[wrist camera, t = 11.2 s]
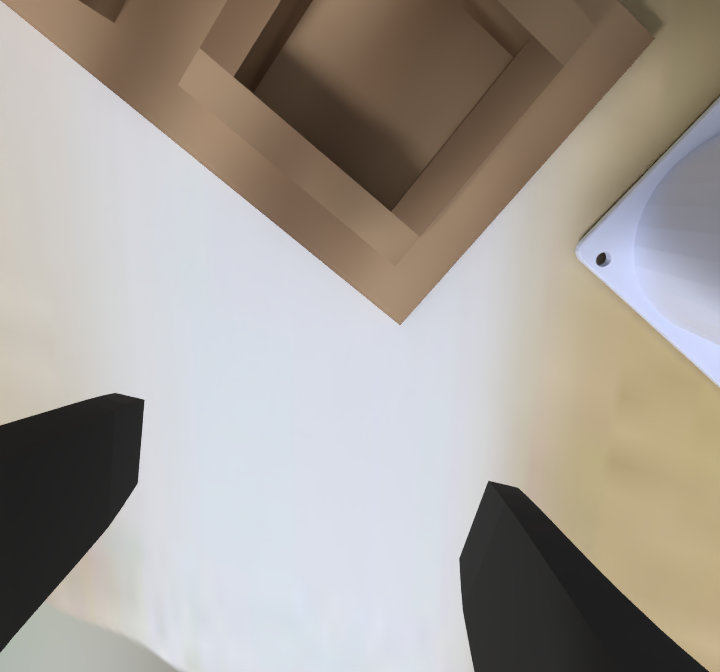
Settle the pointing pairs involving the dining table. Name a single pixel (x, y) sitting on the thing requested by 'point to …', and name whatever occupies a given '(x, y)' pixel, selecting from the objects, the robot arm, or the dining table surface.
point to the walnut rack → (359, 109)
